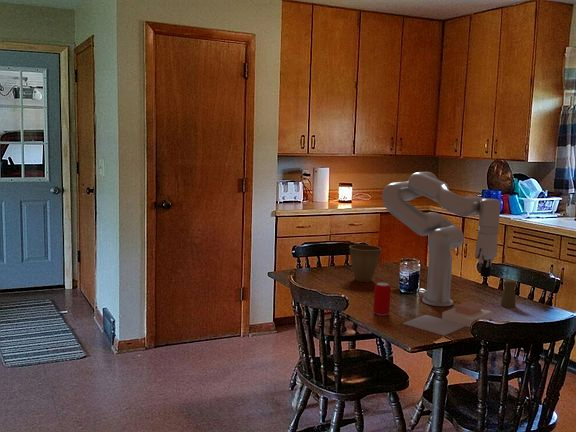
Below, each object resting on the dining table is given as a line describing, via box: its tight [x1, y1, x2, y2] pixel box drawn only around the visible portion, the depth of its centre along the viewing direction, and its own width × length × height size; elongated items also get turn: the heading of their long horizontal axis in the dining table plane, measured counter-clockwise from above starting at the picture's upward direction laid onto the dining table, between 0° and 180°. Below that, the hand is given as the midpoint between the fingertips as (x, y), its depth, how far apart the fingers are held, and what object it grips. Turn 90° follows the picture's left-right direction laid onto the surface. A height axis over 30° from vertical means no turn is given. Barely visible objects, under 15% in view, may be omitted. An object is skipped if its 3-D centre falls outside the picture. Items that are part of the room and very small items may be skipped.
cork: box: [499, 279, 517, 309], centre depth 253 cm, size 6×6×11 cm
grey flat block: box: [441, 306, 492, 328], centre depth 234 cm, size 12×16×3 cm
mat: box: [402, 314, 466, 337], centre depth 225 cm, size 17×16×1 cm
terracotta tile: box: [455, 300, 483, 315], centre depth 234 cm, size 6×9×2 cm, turn 136°
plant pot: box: [349, 244, 382, 283], centre depth 288 cm, size 15×15×16 cm
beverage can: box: [373, 282, 392, 317], centre depth 236 cm, size 6×6×12 cm
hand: (485, 276), depth 240 cm, fingers closed
